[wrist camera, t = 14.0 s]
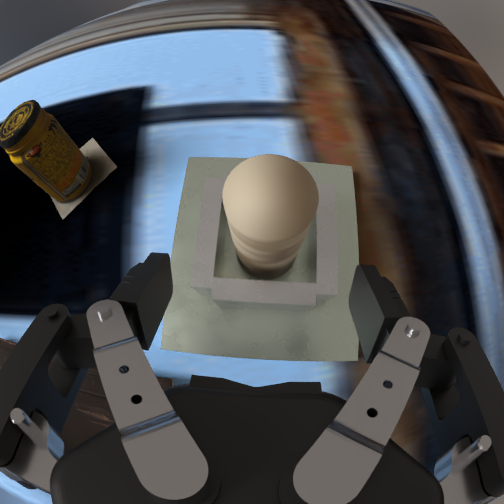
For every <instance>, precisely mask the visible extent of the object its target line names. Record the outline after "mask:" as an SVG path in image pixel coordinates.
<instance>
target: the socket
mask: <svg viewBox="0 0 504 504" xmlns="http://www.w3.org/2000/svg"><path fill="white" fill-rule="evenodd" d="M247 159H249V158H218V157H189V160H188V165H187V169H186V174H185V179H184V185H183V190H182V195H181V200H180V206H179V212H178V217H177V223H176V229H175V236H174V242H173V249H172V255H171V262H170V264H171V272H172V280H173V294H172V298H171V300H170V302H169V304H168V307H167V309H166V311H165V313H164V321H163V331H162V342H161V349H165V350H172V351H179V352H187V353H195V354H204V355H214V356H224V357H236V358H249V359H265V360H287V361H358V345H359V338H358V335H357V331H356V328H355V325H354V322H353V319H352V316H351V312H350V309H349V294H350V290H351V286H352V282H353V278H354V274H355V269H356V267H357V265H359V250H358V230H357V215H356V202H355V191H354V181H353V172H352V167H351V166H343V165H334V164H324V163H313V162H301V161H296V162H298V163H300V164H301V165H302V166H303V167H305V168H306V169H307V170H308V171H309V173H310V174H311V175H312V177H313V179H314V180H315V183H316V185H317V188H318V194H319V203H318V208H317V211H316V214H315V216H314V218H313V221H312V223H311V225H310V228H309V230H308V232H307V234H306V237H305V239H304V241H303V243H302V246H301V248H300V250H299V252H298V255H297V257H296V259H295V261H294V264H293V265H292V267H291V268H290V269H289V270H288V271H287V272H286V273H285V274H284V275H282V276H280V277H278V278H275V279H269V280H264V279H258V278H255V277H253V276H251V275H249V274H248V273H247V272H246V271H245V270H244V269H243V268H242V267H241V265H240V263H239V261H238V258H237V255H236V251H235V247H234V243H233V240H232V236H231V232H230V228H229V224H228V221H227V217H226V213H225V209H224V205H223V198H222V194H223V187H224V184H225V181H226V179H227V177H228V175H229V174H230V173H231V171H232V170H233V169H234V168H235V167H236V166H237V165H239V164H240V163H241V162H243V161H245V160H247Z"/></svg>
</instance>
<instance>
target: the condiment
mask: <svg viewBox="0 0 504 504" xmlns="http://www.w3.org/2000/svg"><path fill="white" fill-rule="evenodd" d="M0 146H1V147H3V148H4V149H5V150H6V152H7V153H8V154H10V159H11V161H12V162H13V163H14V165H15V166H17V167H18V168H19V169H20V170H22V171H23V172H24V173H25V174H26V175H27V176H28V177H29V178H31V179H32V180H33V181H34V182H35V183H36V184H37V185H38V186H40V187H41V188H42V189H43V190H44V191H45V192H46V193H48V194H49V195H50V196H51V198H52V200H53V202H54V204H55V206H56V208H57V210H58V212H59V214H60V216H61V217H62V219H64V218H65V217H66V216H67V215H68V214H69V213H70V212H71V211H72V210H73V209H74V208H75V207H76V206H77V205H78V204H79V203H80V202H81V201H82V200H83V199H84V198H85V197H86V196H87V195H88V194H89V193H90V192H91V191H92V190H93V189H94V188H95V187H96V186H97V185H98V184H99V183H100V182H102V181H103V180H104V179H105V178H106V177H107V176H108V175H109V174H110V173H111V172H112V171H113V170H115V169H116V168H117V166H116V165H115V164H114V163H113V161H112V160H111V159H110V158H109V157H108V155H107V154H106V153H105V152H104V151H103V150H102V148H101V147H100V146H99V145H98V143H97V142H96V141H95V140H94V139H93V138H92V139H91V140H90V141H88V142H87V143H86V144H85V145H84V146H83V147H81V148H80V149H79V148H78V147H77V146H76V144H75V143H74V142H73V141H72V139H71V138H70V137H69V135H68V134H67V133H66V132H65V131H64V129H63V128H62V127H61V125H60V124H59V123H58V122H57V120H56V119H55V118H54V117H53V116H52V115H50V114H48V113H46V112H45V110H44V109H43V108H41V107H40V105H39V103H38V102H36V101H35V100H30V101H27V102H24V103H22V104H21V105H19V106H18V107H17V108H15V109H14V110H13V111H12V112H11V113H10V114H9V116H8V117H7V118H6V119H5V121H4V122H3V124H2V126H1V128H0ZM86 157H89V158H86ZM92 180H94V181H92Z"/></svg>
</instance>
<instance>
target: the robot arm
mask: <svg viewBox="0 0 504 504" xmlns="http://www.w3.org/2000/svg"><path fill="white" fill-rule="evenodd" d="M172 294H173V280H172V272H171V264H170V257H169V254H168V253H153V252H152V253H150V255H149V256H148V257H147V259H146V260H145V262H144V263H138V264H137V265H135V266H134V267H132V268H131V269H130V270H129V272H128V273H127V274H126V277H124V279H123V280H122V283H120V284H119V286H118V287H117V288H116V290H115V291H114V293H113V294H112V295H111V297H110V298H109V300H103V301H99V302H97V303H95V304H93V305H92V306H91V307H90V308H89V309H88V311H87V314H78V315H70V314H69V311H68V309H67V307H66V306H65V305H62V304H53V305H50V306H47V307H46V308H44V309H43V310H42V311H41V312H40V313H39V314H38V315H37V317H36V318H35V320H34V321H33V322H32V324H31V325H30V326H29V328H28V329H27V331H26V332H25V333H24V335H23V336H22V338H21V339H20V340H19V342H18V343H17V345H16V346H15V348H14V349H13V351H12V352H11V354H10V355H9V357H8V358H7V360H6V362H5V363H4V365H3V366H2V368H1V369H0V471H1V472H2V473H3V474H5V475H6V476H8V477H9V478H10V479H12V480H15V481H16V482H18V483H19V484H21V485H22V486H24V487H26V488H28V489H37V488H38V489H40V490H42V491H44V492H46V493H48V494H50V495H51V498H52V503H53V504H488V503H489V502H491V501H493V500H495V499H496V498H498V497H500V496H501V495H503V494H504V391H503V389H502V387H501V385H500V383H499V381H498V379H497V377H496V375H495V373H494V371H493V369H492V367H491V365H490V363H489V361H488V359H487V357H486V355H485V353H484V351H483V349H482V348H481V346H480V344H479V342H478V340H477V339H476V337H475V336H474V335H473V334H472V333H471V332H470V331H468V330H466V329H464V328H460V327H455V328H452V329H451V330H450V331H449V333H448V335H447V337H444V336H439V335H434V334H430V330H429V328H428V326H427V325H426V324H425V323H424V322H422V321H421V320H419V319H417V318H413V317H411V315H410V314H409V312H408V310H407V308H406V306H405V304H404V303H403V301H402V299H401V297H400V295H399V294H398V293H397V290H396V288H395V287H394V285H393V283H391V282H390V281H389V280H388V279H387V278H385V277H381V275H380V274H379V272H378V270H377V268H376V267H375V266H374V265H357V267H356V269H355V274H354V278H353V282H352V286H351V290H350V294H349V309H350V312H351V316H352V319H353V322H354V325H355V328H356V331H357V335H358V338H359V341H360V344H361V348H362V351H363V355H364V358H365V361H366V363H372V364H371V366H370V367H369V369H368V371H367V372H366V374H365V375H364V377H363V378H362V380H361V382H360V383H359V385H358V386H357V388H356V389H355V391H354V392H353V394H352V395H351V397H350V398H349V400H348V401H346V400H344V399H342V398H340V397H338V396H336V395H333V394H330V393H327V392H323V391H321V383H320V382H286V383H281V384H275V385H269V386H263V387H252V386H248V385H245V384H241V383H238V382H234V381H231V380H227V379H224V378H216V377H206V376H198V375H192V377H191V380H190V384H184V385H178V386H174V387H171V388H168V389H166V390H164V391H163V390H162V388H161V386H160V384H159V382H158V380H157V378H156V376H155V374H154V372H153V370H152V368H151V366H150V364H149V362H148V360H147V358H146V356H145V354H144V352H143V350H149V348H150V346H151V343H152V341H153V339H154V336H155V334H156V332H157V329H158V327H159V325H160V322H161V320H162V318H163V316H164V313H165V311H166V309H167V307H168V304H169V302H170V300H171V298H172ZM142 349H143V350H142ZM54 355H55V357H56V360H55V362H54V364H53V366H52V368H51V369H50V371H49V373H48V367H49V364H50V362H51V360H52V359H53V357H54ZM95 367H97V368H98V371H99V375H100V378H101V381H102V384H103V388H104V391H105V394H106V397H107V400H108V403H109V405H110V408H111V411H112V414H113V416H114V419H115V423H113V424H111V425H110V426H108V427H107V428H105V429H104V430H102V431H100V432H99V433H97V434H96V435H94V436H92V437H91V438H89V439H88V440H86V441H84V442H83V443H81V444H79V445H78V446H76V447H75V448H73V449H71V450H70V451H68V452H66V453H65V454H64V453H63V451H64V442H63V439H62V437H61V436H60V435H61V432H62V430H63V427H64V424H65V422H66V419H67V417H68V414H69V412H70V410H71V407H72V405H73V402H74V400H75V398H76V395H77V393H78V391H79V389H80V386H81V384H82V382H83V380H84V377H85V375H86V373H87V371H88V369H89V368H95ZM456 380H457V381H458V383H459V386H460V389H461V397H459V395H458V392H457V389H456V387H455V384H454V383H455V381H456ZM414 386H416V387H421V390H422V393H423V396H424V399H425V403H426V406H427V410H428V413H429V417H430V421H431V424H432V428H433V432H434V436H435V440H436V444H437V448H438V453H439V457H440V458H439V459H438V461H437V463H436V465H435V474H434V475H433V474H432V473H431V472H430V471H428V470H427V469H426V468H425V467H424V466H422V465H421V464H420V463H419V462H417V461H416V460H415V459H414V458H413V457H411V456H410V455H409V454H408V453H407V452H405V451H404V450H403V449H402V448H401V447H400V446H398V445H397V444H396V443H395V442H394V441H392V440H391V439H390V436H391V434H392V432H393V430H394V428H395V426H396V424H397V422H398V420H399V418H400V416H401V414H402V412H403V410H404V407H405V405H406V403H407V401H408V399H409V396H410V394H411V392H412V389H413V387H414Z"/></svg>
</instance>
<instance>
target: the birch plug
mask: <svg viewBox="0 0 504 504" xmlns="http://www.w3.org/2000/svg"><path fill="white" fill-rule="evenodd" d="M222 198H223V205H224V209H225V213H226V217H227V221H228V224H229V228H230V232H231V236H232V240H233V243H234V247H235V251H236V255H237V258H238V261H239V263H240V265H241V267H242V268H243V269H244V270H245V271H246V272H247V273H248V274H249V275H251V276H253V277H255V278H258V279H264V280H269V279H275V278H278V277H280V276H282V275H284V274H285V273H286V272H287V271H288V270H289V269H290V268H291V267H292V265H293V264H294V261H295V259H296V257H297V255H298V252H299V250H300V248H301V246H302V243H303V241H304V239H305V237H306V234H307V232H308V230H309V228H310V225H311V223H312V221H313V218H314V216H315V214H316V211H317V208H318V203H319V194H318V188H317V185H316V183H315V180H314V179H313V177H312V175H311V174H310V173H309V171H308V170H307V169H306V168H305V167H303V166H302V165H301V164H300V163H298V162H296V161H295V160H292V159H290V158H288V157H285V156H281V155H274V154H266V155H259V156H254V157H251V158H249V159H247V160H245V161H243V162H241V163H240V164H239V165H237V166H236V167H235V168H234V169H233V170H232V171H231V173H230V174H229V175H228V177H227V179H226V181H225V184H224V187H223V194H222Z"/></svg>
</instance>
